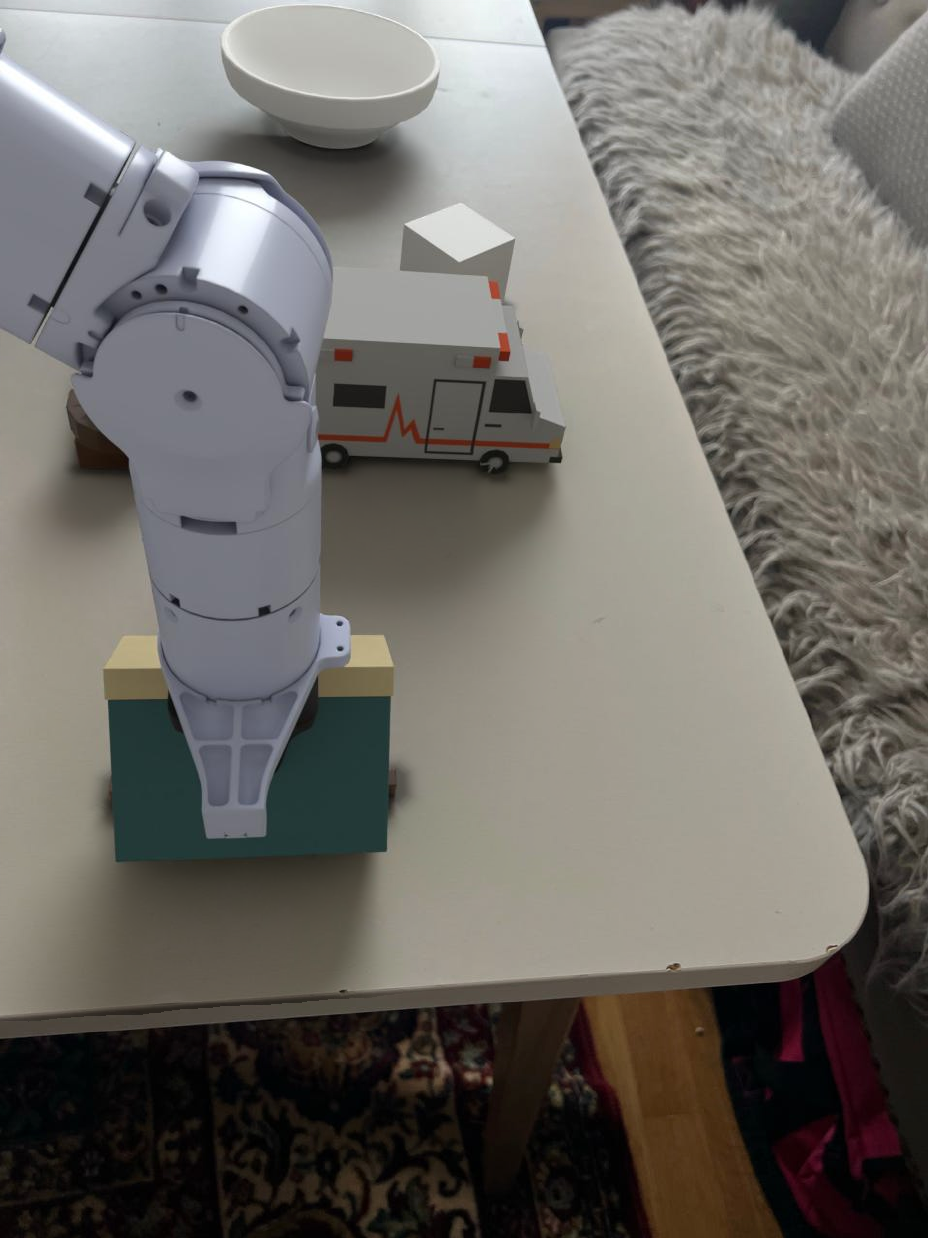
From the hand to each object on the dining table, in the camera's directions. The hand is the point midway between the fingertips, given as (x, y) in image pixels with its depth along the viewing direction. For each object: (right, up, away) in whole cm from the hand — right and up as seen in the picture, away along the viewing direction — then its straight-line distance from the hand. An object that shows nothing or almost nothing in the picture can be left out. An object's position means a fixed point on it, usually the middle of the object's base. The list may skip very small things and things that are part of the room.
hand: (253, 765), depth 44 cm
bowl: (-3, +53, +51) cm, 74 cm away
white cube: (+8, +32, +36) cm, 49 cm away
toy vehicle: (+7, +19, +26) cm, 33 cm away
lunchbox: (-1, -4, +3) cm, 5 cm away
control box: (-11, +21, +24) cm, 34 cm away
